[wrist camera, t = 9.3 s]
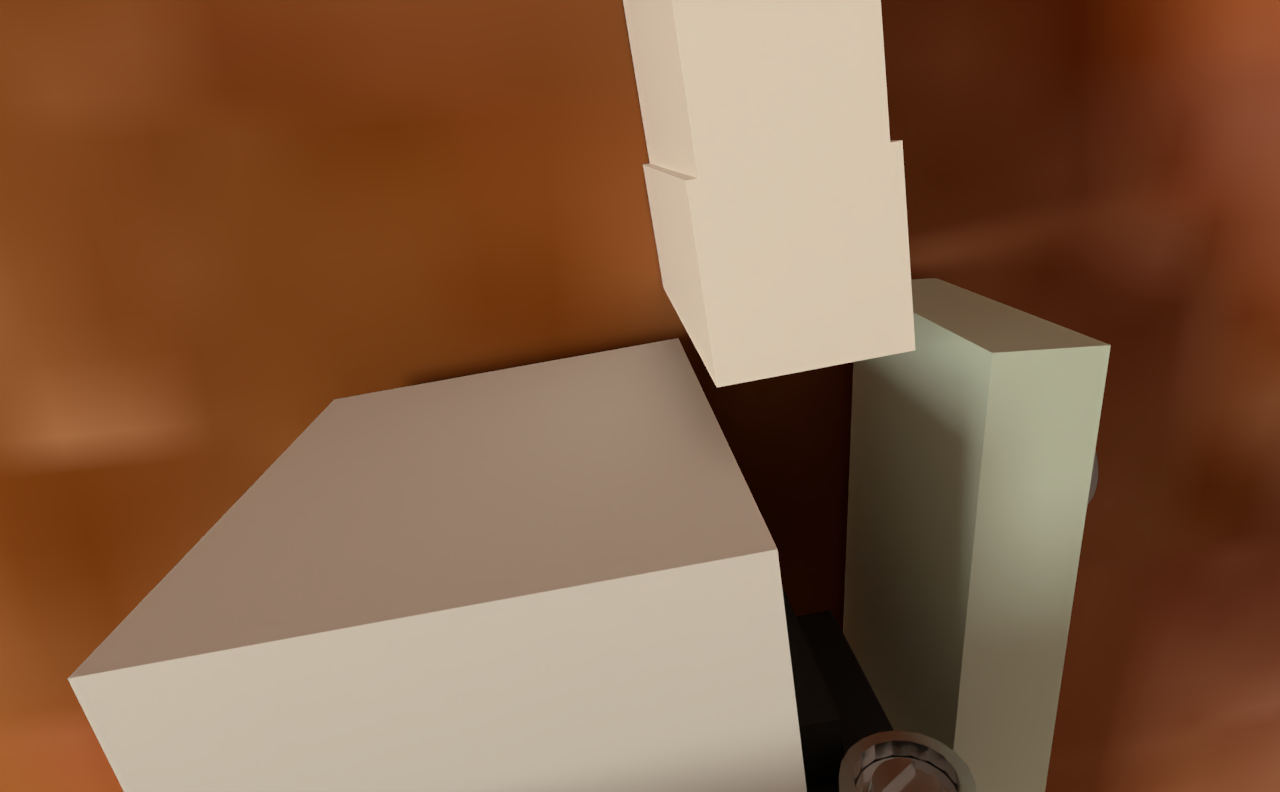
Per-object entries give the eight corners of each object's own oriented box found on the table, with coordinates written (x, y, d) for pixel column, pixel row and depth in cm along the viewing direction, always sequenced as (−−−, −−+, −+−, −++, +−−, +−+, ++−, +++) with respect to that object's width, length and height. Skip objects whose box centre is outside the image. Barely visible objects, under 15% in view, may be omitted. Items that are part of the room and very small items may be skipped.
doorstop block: (334, 399, 11) (67, 678, 5) (678, 338, 11) (777, 550, 5) (479, 862, 14) (407, 1361, 8) (751, 812, 14) (865, 1271, 8)
